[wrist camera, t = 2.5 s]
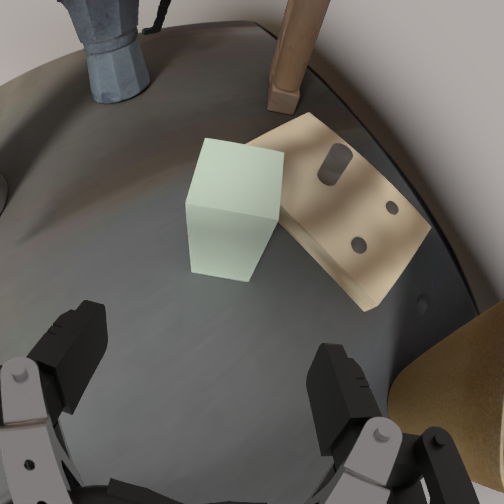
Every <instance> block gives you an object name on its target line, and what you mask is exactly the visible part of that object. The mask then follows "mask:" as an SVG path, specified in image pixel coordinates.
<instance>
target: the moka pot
mask: <svg viewBox="0 0 504 504" xmlns="http://www.w3.org/2000/svg"><path fill="white" fill-rule="evenodd" d="M57 2H61V3H62V4H63V5H64V6H65V8H66V9H67V10H68V12H69V14H70V17H71V19H72V22H73V25H74V27H75V30H76V33H77V35H78V38H79V40H80V42H81V43H83V45H84V49H85V51H86V52H87V66H88V73H89V80H90V87H91V94H92V98H93V99H94V100H95V101H97V102H99V103H104V104H108V103H113V102H120V101H123V100H126V99H129V98H131V97H133V96H135V95H137V94H138V93H140V92H141V91H142V90H144V89H145V87H147V85H148V84H149V83H150V77H149V73H148V70H147V67H146V64H145V61H144V57H143V54H142V51H141V48H140V44H139V41H138V37H137V34H138V30H137V27H136V26H137V25H138V7H139V0H57ZM170 2H171V0H161V1H160V5H159V7H158V12H157V18H156V20H155V22H154V25H153V27H151V28H144V29H143V30H142V33H143V34H144V35H147V34H153V33H157V32H160V31H161V28H162V25H163V22H164V19H165V15H166V13H167V9H168V7H169V5H170Z"/></svg>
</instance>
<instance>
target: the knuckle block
mask: <svg viewBox="0 0 504 504" xmlns="http://www.w3.org/2000/svg"><path fill="white" fill-rule="evenodd" d="M283 162H284V152H279V151H275V150H270V149H265V148H260V147H255V146H250V145H244V144H239V143H233V142H228V141H222V140H215V139H209V138H205V141H204V144H203V147H202V150H201V153H200V156H199V159H198V162H197V166H196V169H195V172H194V175H193V179H192V182H191V186H190V189H189V192H188V196H187V199H186V203H185V205H186V218H187V230H188V241H189V252H190V261H191V271H192V272H193V273H199V274H204V275H210V276H216V277H221V278H227V279H233V280H239V281H245V282H249V280H250V278H251V276H252V274H253V272H254V270H255V268H256V266H257V264H258V262H259V260H260V258H261V256H262V253H263V251H264V249H265V247H266V245H267V243H268V241H269V239H270V237H271V235H272V233H273V231H274V229H275V227H276V225H277V223H278V220H279V210H280V199H281V187H282V175H283Z"/></svg>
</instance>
